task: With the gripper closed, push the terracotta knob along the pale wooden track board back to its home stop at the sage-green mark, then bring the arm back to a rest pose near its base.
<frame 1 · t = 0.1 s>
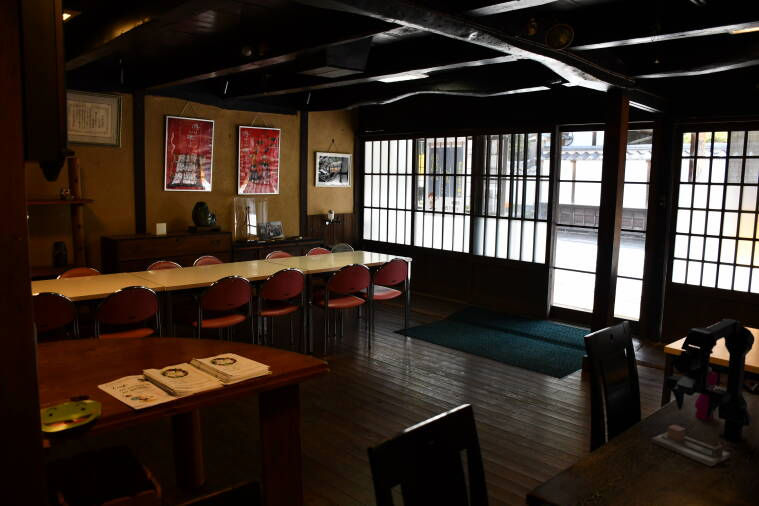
hand: (693, 414, 192), 15 cm above the table, tool pointing down, fingers open, 9 cm apart
knob: (676, 433, 203), point 4 cm above the table, slide at -11.0 cm
pepper mill: (704, 417, 227), on the table
track board: (689, 449, 199), on the table
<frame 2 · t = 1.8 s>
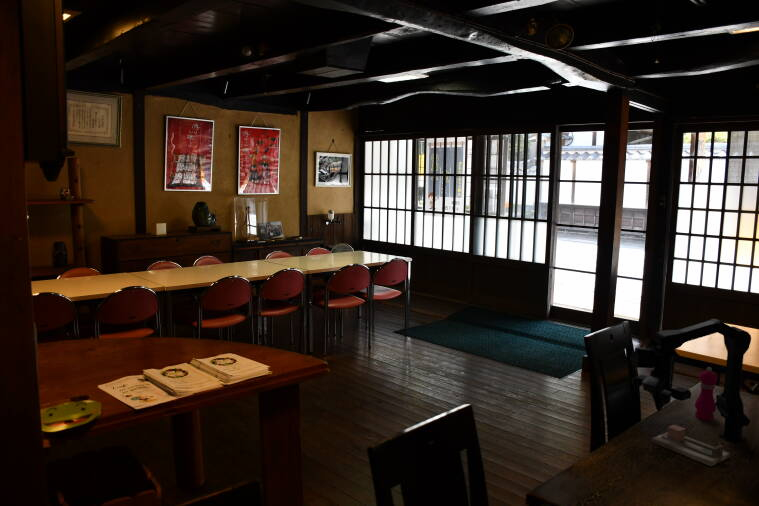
hand: (658, 410, 208), 9 cm above the table, tool pointing down, fingers closed
nothing on the table moved.
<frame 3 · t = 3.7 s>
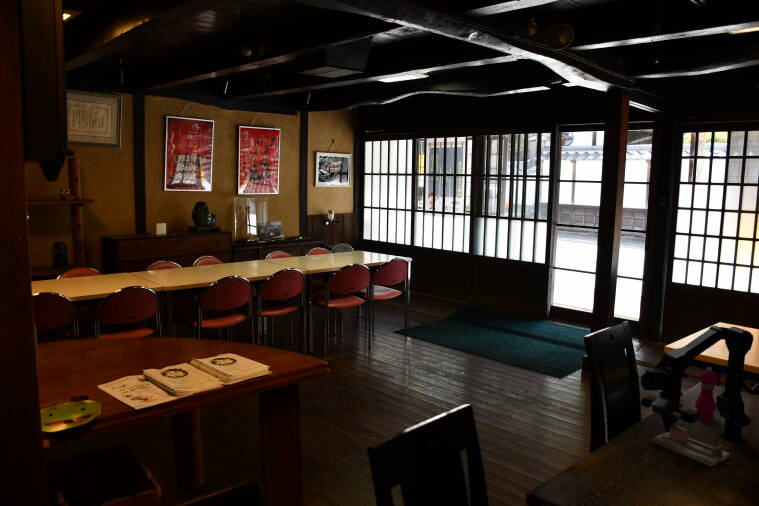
hand: (667, 432, 205), 3 cm above the table, tool pointing down, fingers closed
knob: (678, 434, 202), point 4 cm above the table, slide at -10.2 cm, touching gripper
everything else where it was.
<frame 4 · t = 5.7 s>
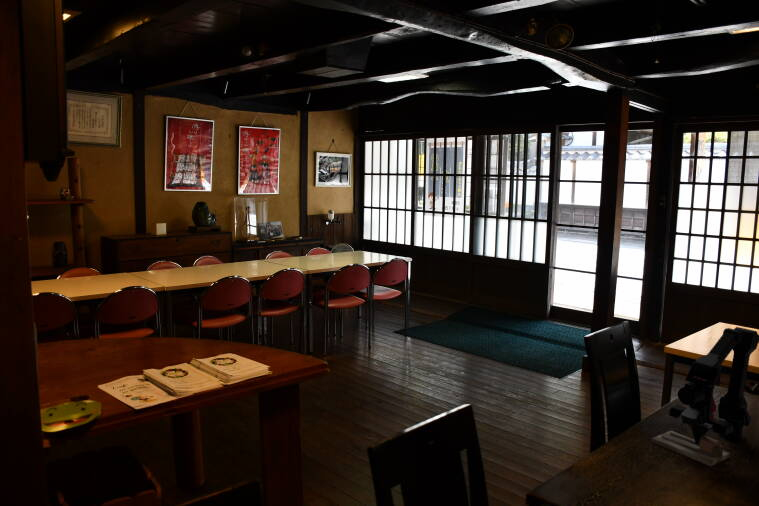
hand: (697, 443, 197), 3 cm above the table, tool pointing down, fingers closed
knob: (709, 445, 194), point 4 cm above the table, slide at 0.1 cm, touching gripper
everything else where it was.
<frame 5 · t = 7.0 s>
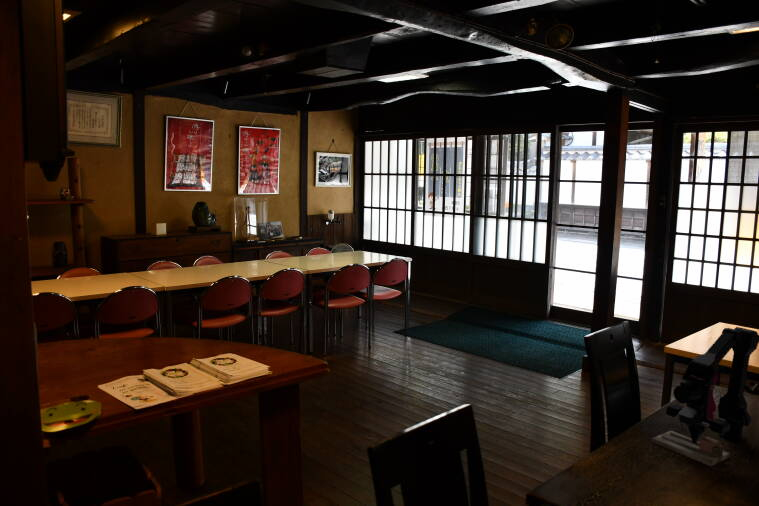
hand: (694, 442, 197), 3 cm above the table, tool pointing down, fingers closed
knob: (708, 445, 194), point 4 cm above the table, slide at 0.0 cm
everything else where it was.
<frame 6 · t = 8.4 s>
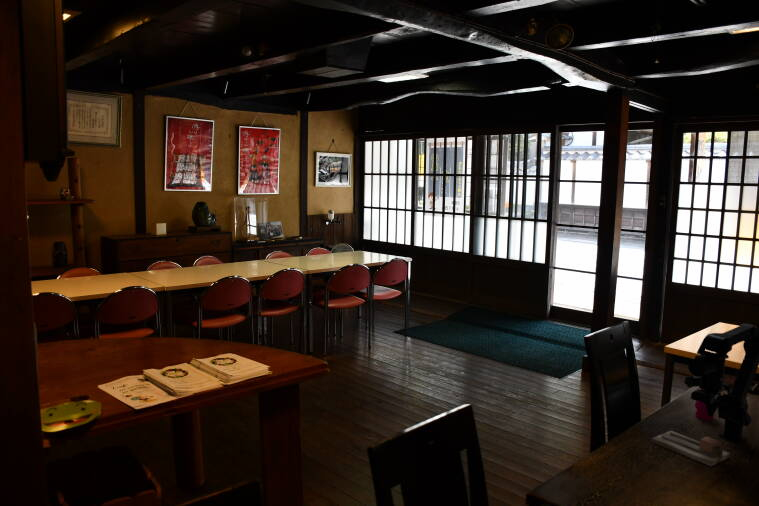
hand: (710, 415, 201), 11 cm above the table, tool pointing down, fingers closed
nothing on the table moved.
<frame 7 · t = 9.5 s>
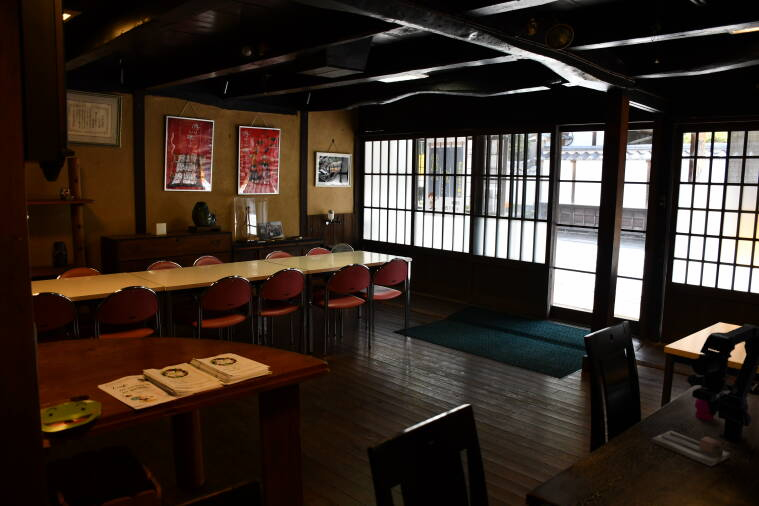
hand: (712, 415, 201), 11 cm above the table, tool pointing down, fingers closed
nothing on the table moved.
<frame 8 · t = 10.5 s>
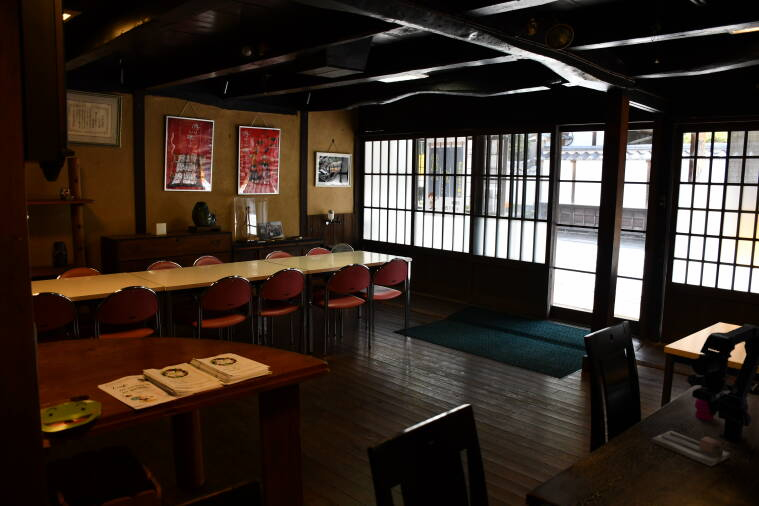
hand: (712, 415, 201), 11 cm above the table, tool pointing down, fingers closed
nothing on the table moved.
at the end: knob slide at 0.0 cm; track board moved 0.0 cm from its start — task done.
